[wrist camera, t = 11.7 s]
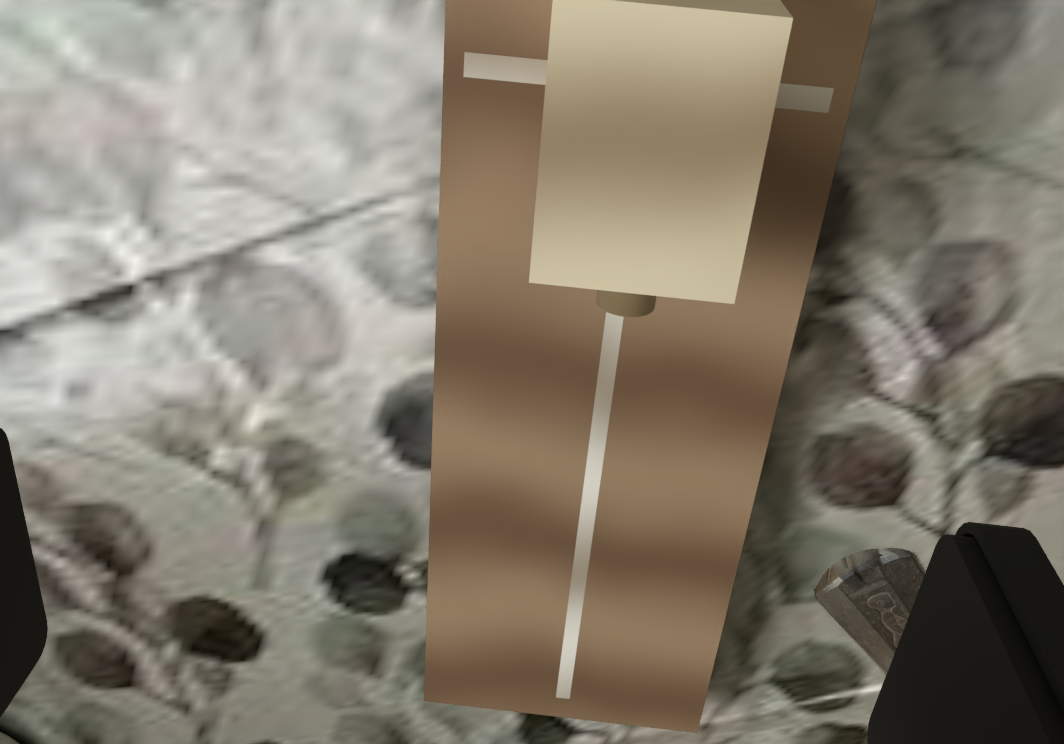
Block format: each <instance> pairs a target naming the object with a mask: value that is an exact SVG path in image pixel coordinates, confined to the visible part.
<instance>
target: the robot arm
mask: <svg viewBox="0 0 1064 744" xmlns="http://www.w3.org/2000/svg"><path fill="white" fill-rule="evenodd" d="M47 629H48V628H47V619H46V615H45V610H44V605H43V601H42V596H41V591H40V587H39V582H38V577H37V573H36V568H35V563H34V558H33V554H32V549H31V544H30V540H29V535H28V530H27V526H26V521H25V516H24V512H23V507H22V502H21V498H20V493H19V488H18V484H17V479H16V474H15V470H14V465H13V460H12V455H11V451H10V446H9V441H8V438H7V436H6V433H5V432H4V431H3V430H2V429H1V428H0V717H1V716H2V714H3V713H4V711H5V710H6V708H7V707H8V705H9V704H10V702H11V701H12V699H13V698H14V696H15V695H16V693H17V692H18V690H19V689H20V687H21V686H22V684H23V683H24V681H25V680H26V678H27V677H28V675H29V674H30V672H31V671H32V669H33V668H34V666H35V665H36V663H37V662H38V660H39V658H40V656H41V654H42V652H43V649H44V646H45V642H46V638H47ZM867 741H868V744H1064V585H1063V583H1062V582H1061V580H1060V578H1059V576H1058V575H1057V573H1056V571H1055V570H1054V568H1053V566H1052V564H1051V563H1050V561H1049V559H1048V558H1047V556H1046V554H1045V552H1044V551H1043V549H1042V547H1041V546H1040V544H1039V542H1038V540H1037V539H1036V537H1035V536H1034V535H1033V534H1032V533H1031V531H1029V530H1027V529H1024V528H1017V527H1009V526H1000V525H991V524H982V523H973V522H968V523H964V524H963V525H962V526H961V527H960V528H959V529H958V530H957V532H956V534H955V535H949V534H947V535H943V536H942V537H941V538H940V539H939V541H938V543H937V545H936V547H935V549H934V552H933V555H932V557H931V560H930V562H929V565H928V568H927V570H926V573H925V575H924V578H923V581H922V583H921V586H920V589H919V591H918V594H917V596H916V599H915V602H914V604H913V607H912V609H911V612H910V615H909V617H908V620H907V623H906V625H905V628H904V630H903V633H902V636H901V638H900V641H899V643H898V646H897V649H896V651H895V654H894V657H893V659H892V662H891V664H890V667H889V670H888V672H887V675H886V678H885V680H884V683H883V685H882V688H881V691H880V693H879V696H878V698H877V701H876V704H875V706H874V709H873V712H872V714H871V717H870V721H869V725H868V739H867ZM0 744H20V743H18V742H17V741H15V740H14V739H12V738H11V737H10V736H8V735H6V734H4V733H2V732H0Z"/></svg>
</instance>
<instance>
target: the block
mask: <svg viewBox="0 0 1064 744" xmlns="http://www.w3.org/2000/svg"><path fill="white" fill-rule="evenodd" d="M828 569H829V568H828ZM923 578H924V576H923V574H922V572H921V570H920V569H919V567H918V565H917V564H916V562H915V561H914V559H913V557H912V555H911V554H910V552H909V551H905V550H903V549H897V548H888V549H870V550H864V551H861V552H857V553H854V554H852V555H850V556H847V557H846V558H843V559H841V560H840V561H838V562H837V563H836V564H834V565H833V566H832V567H831V568H830V569H829V571H828V570H827V571H826V573H825V574H824V575H823V576H822V578H821V579H820V581H819V583H818V585H817V587H816V589H814V590H815V597H816V599H817V600H818V602H819V603H820V604H821V605H822V606H823V607H824V608H825V609H826V610H827V611H828V614H830V615H831V616H832V617H833V618H834V619H835V620H836V621H837V622H838V624H839V625H840V626H841V627H842V628H843V629H844V630H845V631H846V632H847V633H848V634H849V635H850V636H851V637H852V639H854V640H855V642H856V643H857V644H858V645H859V646H860V647H861V648H862V649H863V650H864V651H865V652H866V654H867V655H868V656H869V657H870V658H871V659H872V660H873V661H874V662H875V664H876V665H877V666H878V667H879V668H880V669H881V670H882V671H883V672H884V673H885V674H886V675H887V672H888V670H889V667H890V664H891V662H892V659H893V657H894V654H895V651H896V649H897V646H898V643H899V641H900V638H901V636H902V633H903V630H904V628H905V625H906V623H907V620H908V617H909V615H910V612H911V609H912V607H913V604H914V602H915V599H916V596H917V594H918V591H919V589H920V586H921V583H922V581H923Z"/></svg>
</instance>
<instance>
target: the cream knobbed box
mask: <svg viewBox="0 0 1064 744" xmlns="http://www.w3.org/2000/svg"><path fill="white" fill-rule="evenodd" d="M792 22H793V17H792V15H791V14H790V13H789V11H788V10H787V9H786V7H785V6H784V5H783V3H782V2H781V0H553V2H552V14H551V25H550V37H549V49H548V61H547V73H546V85H545V97H544V108H543V120H542V132H541V144H540V156H539V168H538V180H537V191H536V203H535V215H534V227H533V239H532V251H531V263H530V274H529V283H537V284H547V285H556V286H566V287H575V288H585V289H594V290H597V295H596V303H597V305H598V306H599V307H600V308H601V309H602V310H604V311H606V312H608V313H610V314H613V315H617V316H622V317H641V316H645V315H648V314H650V313H652V312H653V310H654V309H655V303H656V297H657V296H661V297H670V298H680V299H690V300H699V301H709V302H718V303H728V304H734V303H735V299H736V294H737V289H738V284H739V279H740V274H741V269H742V265H743V260H744V255H745V250H746V245H747V240H748V235H749V231H750V226H751V221H752V216H753V211H754V206H755V201H756V197H757V192H758V187H759V182H760V177H761V172H762V167H763V163H764V158H765V153H766V148H767V143H768V138H769V133H770V129H771V124H772V119H773V114H774V109H775V104H776V99H777V94H778V90H779V85H780V80H781V75H782V70H783V65H784V60H785V56H786V51H787V46H788V41H789V36H790V31H791V26H792Z"/></svg>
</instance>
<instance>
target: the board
mask: <svg viewBox="0 0 1064 744" xmlns="http://www.w3.org/2000/svg"><path fill="white" fill-rule="evenodd" d="M876 1H877V0H781V2H782V3H783V5H784V6H785V7H786V9H787V10H788V11H789V13H790V14H791V15H792V17H793V22H792V26H791V31H790V36H789V41H788V46H787V51H786V56H785V60H784V65H783V70H782V75H781V80H780V85H779V90H778V94H777V99H776V104H775V109H774V114H773V119H772V124H771V129H770V133H769V138H768V143H767V148H766V153H765V158H764V163H763V167H762V172H761V177H760V182H759V187H758V192H757V197H756V201H755V206H754V211H753V216H752V221H751V226H750V231H749V235H748V240H747V245H746V250H745V255H744V260H743V265H742V269H741V274H740V279H739V284H738V289H737V294H736V299H735V303H734V304H728V303H718V302H709V301H699V300H690V299H680V298H670V297H661V296H657V297H656V303H655V309H654V310H653V312H652V313H650V314H648V315H645V316H641V317H622V316H617V315H613V314H610V313H608V312H606V311H604V310H602V309H601V308H600V307H599V306H598V305H597V303H596V295H597V290H594V289H585V288H575V287H566V286H556V285H547V284H537V283H529V274H530V263H531V251H532V239H533V227H534V215H535V203H536V191H537V180H538V168H539V156H540V144H541V132H542V120H543V108H544V97H545V85H546V73H547V61H548V49H549V37H550V25H551V14H552V2H553V0H446V8H445V40H444V73H443V105H442V138H441V170H440V203H439V235H438V267H437V300H436V332H435V365H434V397H433V430H432V462H431V495H430V527H429V559H428V592H427V624H426V657H425V689H424V701H428V702H437V703H445V704H454V705H463V706H471V707H480V708H488V709H497V710H505V711H514V712H523V713H531V714H540V715H548V716H557V717H565V718H574V719H583V720H591V721H600V722H608V723H617V724H625V725H634V726H643V727H651V728H660V729H668V730H677V731H685V732H694V733H697V732H698V727H699V723H700V719H701V715H702V711H703V707H704V703H705V699H706V695H707V691H708V687H709V683H710V679H711V674H712V670H713V666H714V662H715V658H716V654H717V650H718V646H719V642H720V638H721V634H722V630H723V626H724V621H725V617H726V613H727V609H728V605H729V601H730V597H731V593H732V589H733V585H734V581H735V577H736V572H737V568H738V564H739V560H740V556H741V552H742V548H743V544H744V540H745V536H746V532H747V528H748V524H749V519H750V515H751V511H752V507H753V503H754V499H755V495H756V491H757V487H758V483H759V479H760V475H761V471H762V466H763V462H764V458H765V454H766V450H767V446H768V442H769V438H770V434H771V430H772V426H773V422H774V417H775V413H776V409H777V405H778V401H779V397H780V393H781V389H782V385H783V381H784V377H785V373H786V369H787V364H788V360H789V356H790V352H791V348H792V344H793V340H794V336H795V332H796V328H797V324H798V320H799V316H800V311H801V307H802V303H803V299H804V295H805V291H806V287H807V283H808V279H809V275H810V271H811V267H812V263H813V258H814V254H815V250H816V246H817V242H818V238H819V234H820V230H821V226H822V222H823V218H824V214H825V209H826V205H827V201H828V197H829V193H830V189H831V185H832V181H833V177H834V173H835V169H836V165H837V161H838V156H839V152H840V148H841V144H842V140H843V136H844V132H845V128H846V124H847V120H848V116H849V112H850V108H851V103H852V99H853V95H854V91H855V87H856V83H857V79H858V75H859V71H860V67H861V63H862V59H863V55H864V50H865V46H866V42H867V38H868V34H869V30H870V26H871V22H872V18H873V14H874V10H875V6H876Z"/></svg>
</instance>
